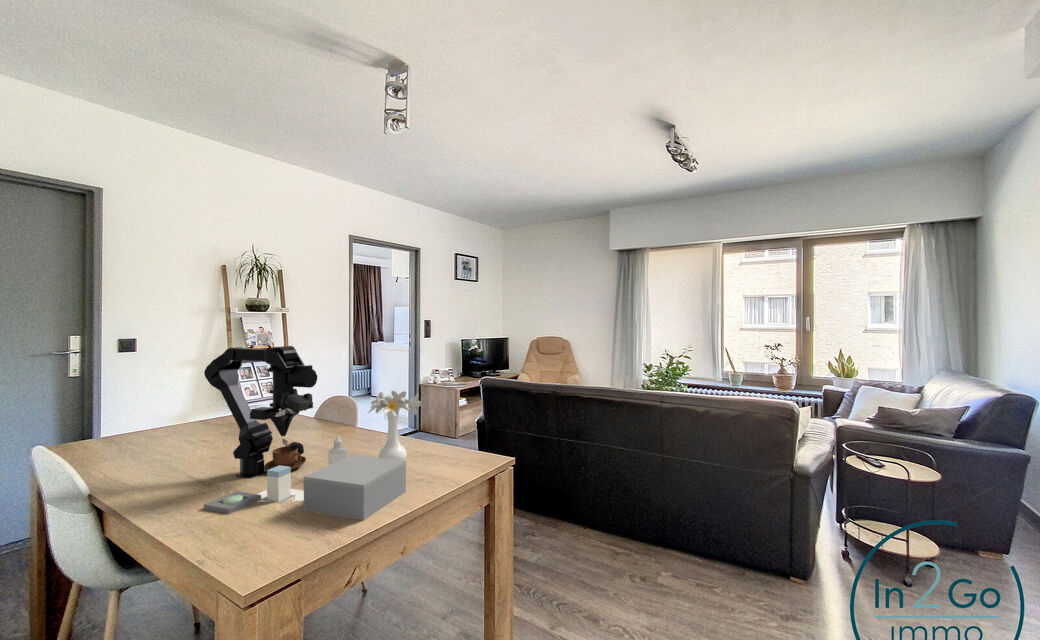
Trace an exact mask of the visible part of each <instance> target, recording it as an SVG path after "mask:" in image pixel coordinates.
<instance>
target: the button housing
mask: <svg viewBox="0 0 1040 640" xmlns="http://www.w3.org/2000/svg"><path fill="white" fill-rule="evenodd" d="M234 495H242V496H243V500H241V501H239V502H237V503H234V504H232V505H229V504H223V500H224V499H225V498H227V497H229V496H234ZM259 500H261V495H258V493H252V492H245V491H239V490H235V491H233V492H231V493H228V494H226V495H224V496H220V497H218V498H216V499H214V500H211V501H208V502H206V503H204V504H203V510H207V511H211V512H212V511H213V512H217V513H223V514H229V515H231V514H232V513H235V512H237V511H240V510H242V509H243V508H246V507H248V506H250V505H252V504H254V503H258V502H257V501H259Z"/></svg>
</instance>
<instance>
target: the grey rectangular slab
mask: <svg viewBox="0 0 1040 640" xmlns="http://www.w3.org/2000/svg"><path fill="white" fill-rule="evenodd" d="M303 491H304V501H303V511H305V512H311V513H315V514H316V513H317V514H324V515H330V516H333V517H340V518H348V519H353V520H360V521H365V520H367V519H368V518H370V517H371V516H373V515H374V514H376V513H377V512H379V511H380V510H382V509H383V508H385V507H386V506H387V505H389V504H390V503H392V502H393V501H395V500H396V499H398V498H399V497H401V496H402V495H404V494H405V493H406V492H407V462H406V460H404V461H401V460H392V459H384V458H378V457H374V456H373V457H372V456H366V455H365V456H364V455H357V454H356V455H355V454H351V455H348V457H346V458H344V459H342V460H340V461H337V462H335V463H333V464H331V465H329V464H328V465H327V466H324V467H322V468H320V469H318V470H315V471H313V472H311V473H309V474H306V475H304V476H303Z"/></svg>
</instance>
